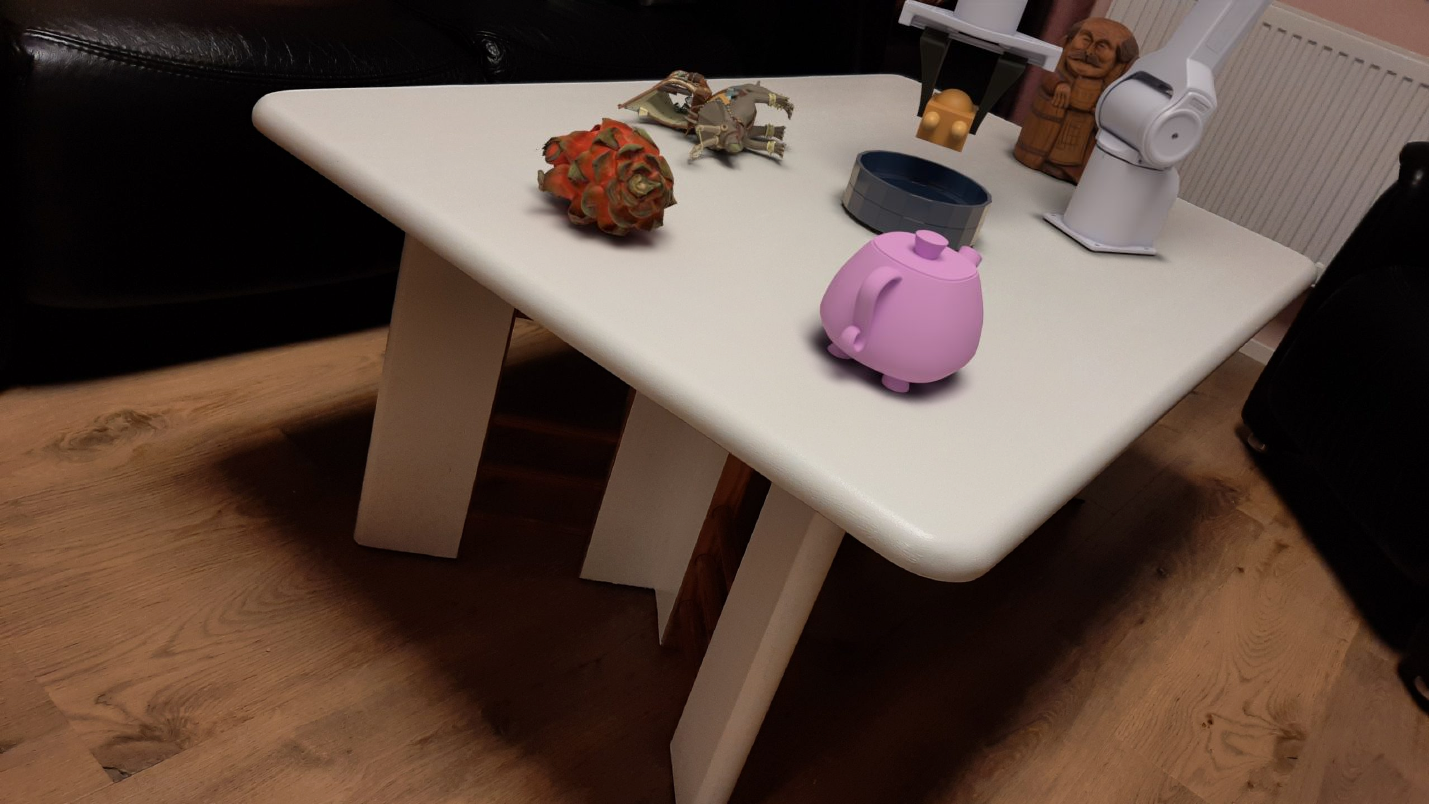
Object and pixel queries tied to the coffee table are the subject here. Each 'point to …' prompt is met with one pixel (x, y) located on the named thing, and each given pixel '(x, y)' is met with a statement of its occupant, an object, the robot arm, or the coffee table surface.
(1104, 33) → the wooden figurine
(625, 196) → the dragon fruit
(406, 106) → the coffee table surface
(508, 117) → the coffee table surface
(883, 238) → the teapot
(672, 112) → the figurine
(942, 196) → the bowl
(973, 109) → the orange toy brick
